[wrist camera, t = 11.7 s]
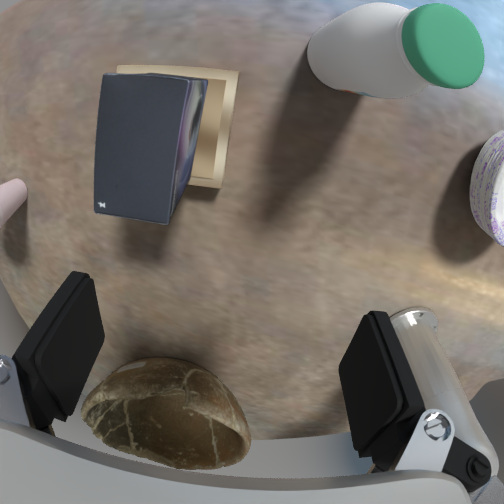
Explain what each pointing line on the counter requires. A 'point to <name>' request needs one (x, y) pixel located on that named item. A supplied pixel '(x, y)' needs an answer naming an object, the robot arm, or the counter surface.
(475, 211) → the paper bowls
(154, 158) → the small box
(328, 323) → the counter surface
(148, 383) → the bowl
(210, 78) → the base
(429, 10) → the milk bottle
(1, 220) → the smoothie
